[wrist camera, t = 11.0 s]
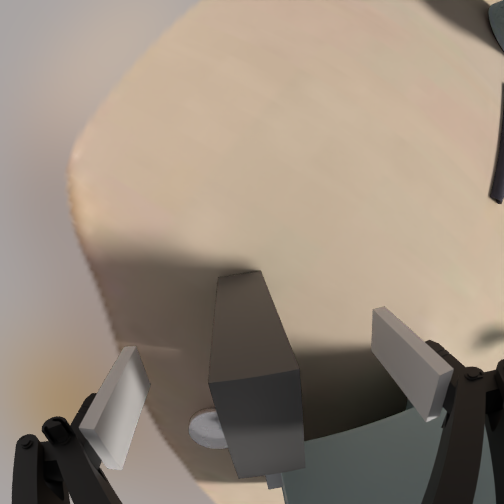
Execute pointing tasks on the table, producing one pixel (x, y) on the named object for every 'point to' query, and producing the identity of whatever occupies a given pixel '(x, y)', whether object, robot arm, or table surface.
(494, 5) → the grey-green hollow cylinder
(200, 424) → the steel token
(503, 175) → the dark squeegee
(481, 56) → the table surface
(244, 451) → the grey l-bracket
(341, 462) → the cabinet
